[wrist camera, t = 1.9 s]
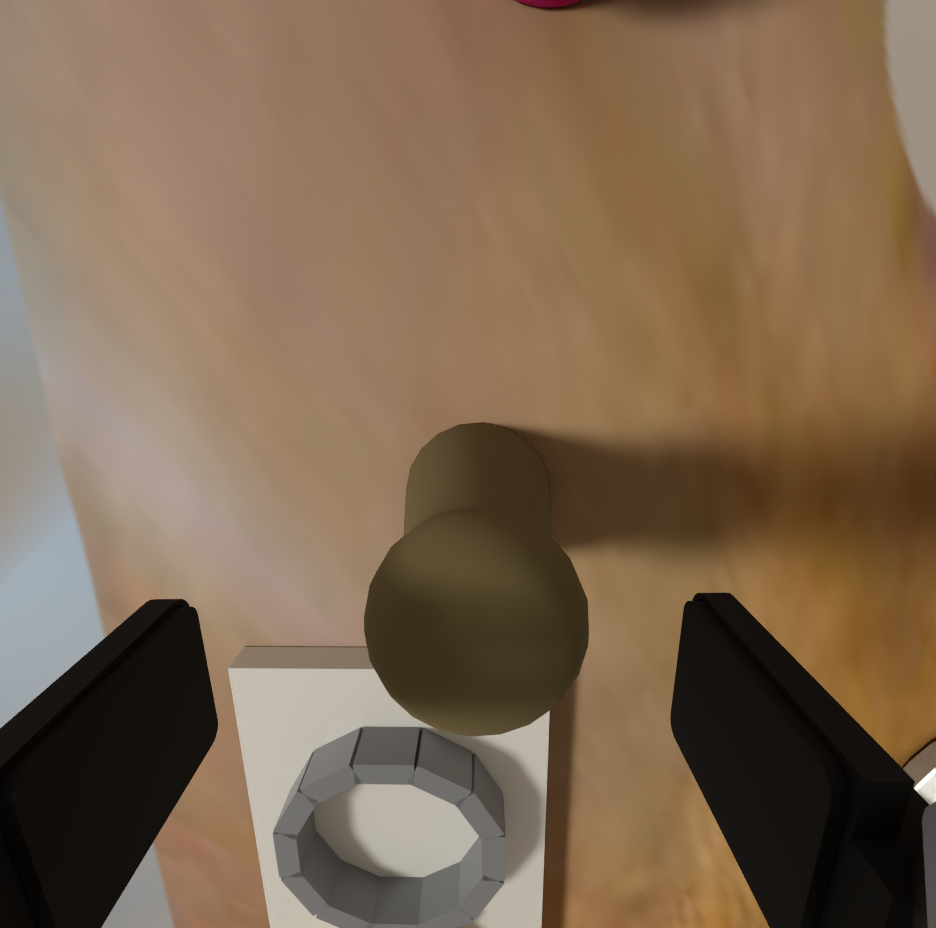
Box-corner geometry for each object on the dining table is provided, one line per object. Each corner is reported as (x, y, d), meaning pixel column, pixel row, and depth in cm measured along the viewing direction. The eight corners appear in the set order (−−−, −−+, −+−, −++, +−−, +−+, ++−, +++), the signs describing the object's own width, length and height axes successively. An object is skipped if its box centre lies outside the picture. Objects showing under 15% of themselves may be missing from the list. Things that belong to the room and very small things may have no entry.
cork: (576, 514, 21) (679, 707, 10) (457, 582, 22) (434, 825, 11) (501, 393, 19) (527, 466, 9) (378, 471, 20) (266, 623, 10)
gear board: (535, 981, 28) (544, 1090, 24) (293, 975, 28) (262, 1082, 24) (546, 648, 22) (561, 718, 18) (244, 646, 23) (192, 714, 19)
